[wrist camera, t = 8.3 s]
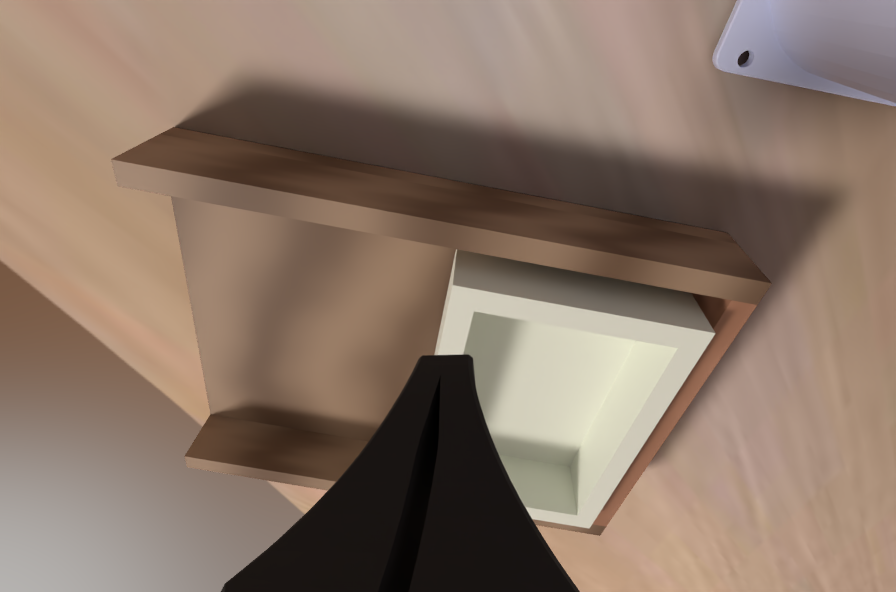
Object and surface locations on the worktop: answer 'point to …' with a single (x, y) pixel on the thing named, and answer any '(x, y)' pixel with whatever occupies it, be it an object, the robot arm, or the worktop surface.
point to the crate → (568, 372)
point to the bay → (377, 290)
